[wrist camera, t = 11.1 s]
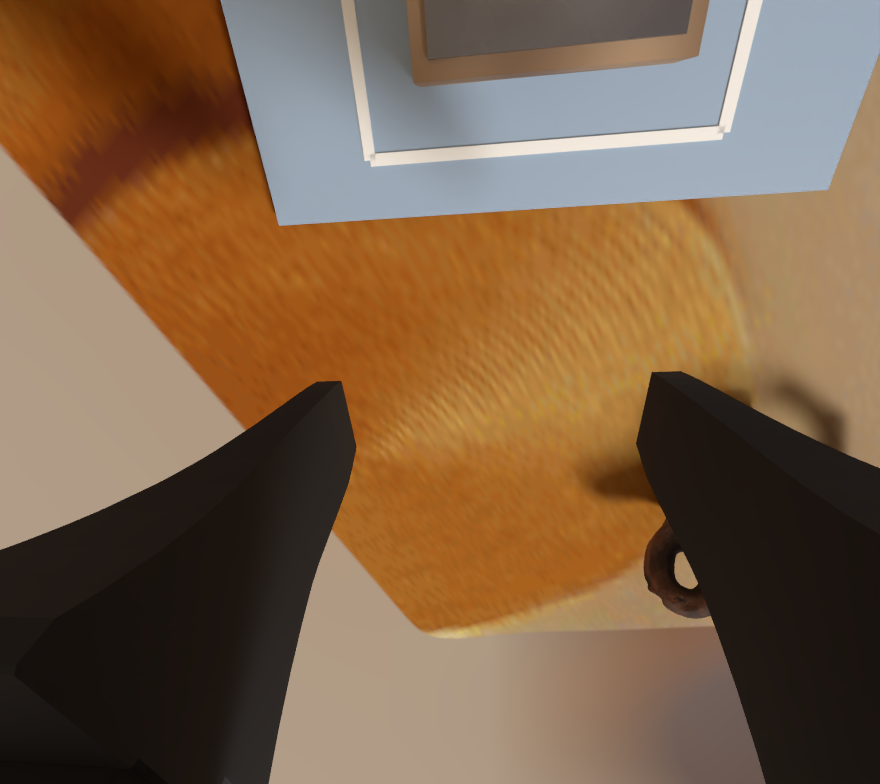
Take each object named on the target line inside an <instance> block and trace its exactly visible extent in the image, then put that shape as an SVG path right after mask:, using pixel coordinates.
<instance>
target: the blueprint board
mask: <svg viewBox="0 0 880 784" xmlns="http://www.w3.org/2000/svg"><path fill="white" fill-rule="evenodd" d="M220 1H221V4H222V8H223V12H224V16H225V20H226V24H227V27H228V31H229V35H230V39H231V43H232V47H233V50H234V54H235V58H236V62H237V66H238V70H239V74H240V77H241V81H242V85H243V89H244V93H245V97H246V100H247V104H248V108H249V112H250V116H251V120H252V123H253V127H254V131H255V135H256V139H257V143H258V146H259V150H260V154H261V158H262V162H263V166H264V170H265V173H266V177H267V181H268V185H269V189H270V193H271V196H272V200H273V204H274V208H275V212H276V216H277V219H278V223H279V226H282V225H297V224H313V223H328V222H343V221H359V220H374V219H389V218H404V217H420V216H435V215H450V214H466V213H481V212H496V211H512V210H527V209H542V208H558V207H573V206H588V205H604V204H619V203H634V202H650V201H665V200H680V199H695V198H711V197H726V196H741V195H757V194H772V193H787V192H803V191H818V190H828V188H829V186H830V183H831V180H832V178H833V175H834V172H835V170H836V167H837V164H838V162H839V159H840V156H841V154H842V151H843V148H844V146H845V143H846V140H847V138H848V135H849V132H850V130H851V127H852V125H853V122H854V119H855V117H856V114H857V111H858V109H859V106H860V103H861V101H862V98H863V95H864V93H865V90H866V87H867V85H868V82H869V79H870V77H871V74H872V71H873V69H874V66H875V63H876V61H877V58H878V55H879V53H880V0H220Z"/></svg>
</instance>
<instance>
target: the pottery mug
mask: <svg viewBox="0 0 880 784" xmlns="http://www.w3.org/2000/svg"><path fill="white" fill-rule="evenodd" d="M679 552H683V550H682V548H681V546H680V544H679V542H678V540H677V538H676V536H675V534H674V532H673V530H672V528H671V526H670V524H669V522H668V520H667V518H666V520H665V522H664V523H663V525H662V527H661V528H660V529H659V530H658V531H657V532H656V533H655V535H654V536H653V538H652V539H651V540H650V541H649V543H648V545H647V549H646V552H645V558H644V576H645V579H646V581H647V583H648V590H649V591H650V592H652V593H655V594H656V595H657V596H659V597H660V598H661V599H662V602H663V604H664V606H665V607H666V608H667V609H669V610H670V611H672V612H674V613H676V614H678V615H682V616H684V617H688V618H695V619H697V618H704V617H708V616H711V615H710V612H709V609H708V607H707V604H706V601H705V599H704V596H703V593H702V591H701V588H700V586H699V584H698V585H697V586H696V587H695V588H693V589H688V588H685V587H683V586H681V585H680V584H679V583H678V582H677V580H676V578H675V574H674V568H675V567H674V564H675V558H676V555H677V554H678V553H679Z"/></svg>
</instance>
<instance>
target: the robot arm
mask: <svg viewBox="0 0 880 784" xmlns="http://www.w3.org/2000/svg"><path fill="white" fill-rule="evenodd" d="M636 444H637V448H638V451H639V454H640V457H641V461H642V464H643V467H644V470H645V473H646V476H647V479H648V481H649V483H650V486H651V488H652V490H653V492H654V494H655V496H656V498H657V500H658V502H659V504H660V506H661V508H662V510H663V512H664V514H665V516H666V518H667V520H668V522H669V524H670V526H671V528H672V530H673V532H674V534H675V536H676V538H677V540H678V542H679V544H680V546H681V548H682V550H683V552H684V554H685V556H686V558H687V560H688V562H689V564H690V566H691V568H692V570H693V573H694V575H695V577H696V579H697V581H698V584H699V586H700V588H701V591H702V593H703V596H704V599H705V601H706V604H707V607H708V609H709V612H710V615H711V617H712V620H713V623H714V625H715V628H716V631H717V633H718V636H719V639H720V641H721V645H722V647H723V650H724V653H725V656H726V659H727V662H728V665H729V668H730V671H731V673H732V676H733V679H734V682H735V685H736V688H737V691H738V694H739V697H740V700H741V704H742V707H743V710H744V713H745V716H746V719H747V723H748V725H749V729H750V732H751V735H752V738H753V741H754V745H755V748H756V751H757V754H758V758H759V761H760V765H761V768H762V772H763V775H764V779H765V782H766V784H880V468H878V467H875V466H873V465H870V464H868V463H866V462H863V461H861V460H858V459H856V458H853V457H851V456H849V455H847V454H844V453H842V452H840V451H838V450H835V449H833V448H831V447H829V446H827V445H825V444H823V443H820V442H818V441H816V440H814V439H812V438H810V437H808V436H806V435H804V434H802V433H800V432H797V431H795V430H793V429H791V428H789V427H787V426H785V425H783V424H781V423H780V422H778V421H776V420H774V419H772V418H770V417H768V416H766V415H764V414H762V413H760V412H758V411H757V410H755V409H753V408H751V407H749V406H747V405H745V404H743V403H742V402H740V401H738V400H736V399H734V398H732V397H730V396H729V395H727V394H725V393H723V392H721V391H719V390H718V389H716V388H714V387H712V386H710V385H708V384H706V383H704V382H702V381H700V380H698V379H696V378H694V377H692V376H690V375H688V374H686V373H683V372H681V371H678V372H652V374H651V379H650V383H649V388H648V392H647V397H646V401H645V406H644V410H643V415H642V419H641V424H640V428H639V433H638V437H637V442H636ZM355 452H356V443H355V439H354V434H353V430H352V425H351V421H350V417H349V412H348V408H347V404H346V399H345V395H344V390H343V386H342V382H341V381H326V382H316V383H314V384H312V385H311V386H309V387H307V388H306V389H304V390H303V391H302V392H300V393H299V394H297V395H296V396H294V397H293V398H292V399H290V400H289V401H287V402H286V403H285V404H283V405H282V406H281V407H279V408H278V409H276V410H275V411H274V412H272V413H271V414H269V415H268V416H267V417H265V418H264V419H262V420H261V421H260V422H258V423H257V424H255V425H254V426H252V427H251V428H249V429H248V430H246V431H245V432H243V433H242V434H240V435H239V436H237V437H236V438H234V439H233V440H231V441H230V442H228V443H227V444H225V445H224V446H222V447H220V448H219V449H217V450H216V451H214V452H213V453H211V454H209V455H208V456H206V457H204V458H203V459H201V460H199V461H198V462H196V463H194V464H193V465H191V466H189V467H187V468H185V469H183V470H182V471H180V472H178V473H176V474H174V475H173V476H171V477H169V478H167V479H165V480H163V481H161V482H159V483H157V484H155V485H153V486H151V487H149V488H147V489H145V490H143V491H141V492H139V493H137V494H134V495H132V496H130V497H128V498H126V499H124V500H122V501H120V502H117V503H115V504H113V505H111V506H109V507H107V508H105V509H102V510H100V511H98V512H96V513H93V514H91V515H89V516H86V517H84V518H82V519H80V520H77V521H74V522H72V523H70V524H67V525H65V526H63V527H60V528H57V529H55V530H52V531H50V532H47V533H45V534H42V535H39V536H37V537H34V538H32V539H29V540H26V541H24V542H21V543H19V544H16V545H13V546H10V547H8V548H5V549H2V550H0V784H268V783H269V778H270V772H271V767H272V761H273V756H274V751H275V745H276V740H277V734H278V729H279V724H280V720H281V715H282V710H283V705H284V700H285V696H286V691H287V686H288V681H289V677H290V672H291V668H292V664H293V659H294V655H295V651H296V647H297V642H298V638H299V633H300V630H301V625H302V621H303V618H304V613H305V610H306V606H307V602H308V598H309V594H310V591H311V587H312V583H313V580H314V577H315V574H316V571H317V567H318V564H319V562H320V559H321V556H322V553H323V551H324V548H325V546H326V543H327V540H328V537H329V535H330V532H331V529H332V527H333V524H334V521H335V519H336V516H337V513H338V511H339V508H340V505H341V503H342V500H343V497H344V494H345V492H346V489H347V486H348V483H349V479H350V475H351V471H352V466H353V461H354V456H355Z"/></svg>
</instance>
